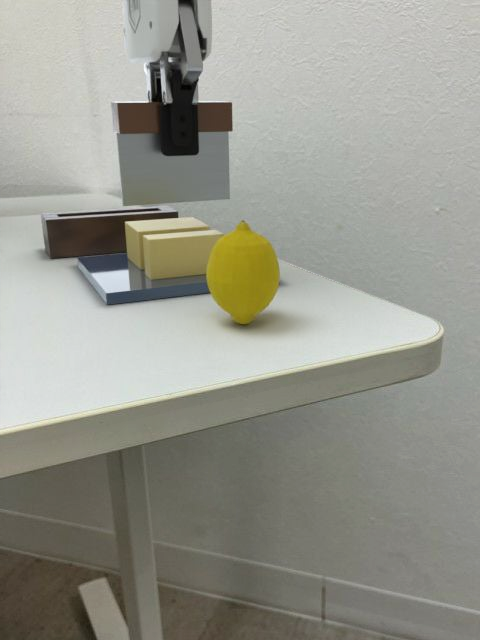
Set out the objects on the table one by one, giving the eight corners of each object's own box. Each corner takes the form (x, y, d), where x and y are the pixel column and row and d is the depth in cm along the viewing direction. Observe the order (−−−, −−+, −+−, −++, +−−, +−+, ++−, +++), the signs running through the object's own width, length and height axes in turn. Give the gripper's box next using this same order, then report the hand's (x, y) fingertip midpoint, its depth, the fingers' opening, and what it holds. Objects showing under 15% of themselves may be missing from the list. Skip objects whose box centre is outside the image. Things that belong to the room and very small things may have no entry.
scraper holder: (50, 258, 69) (45, 219, 67) (45, 250, 72) (40, 213, 70) (179, 247, 74) (178, 211, 73) (169, 240, 78) (167, 205, 76)
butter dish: (106, 304, 55) (105, 293, 55) (78, 267, 66) (77, 257, 65) (279, 284, 62) (279, 274, 61) (227, 253, 72) (227, 244, 72)
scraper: (126, 208, 57) (117, 102, 53) (119, 203, 59) (110, 101, 55) (234, 200, 61) (232, 102, 57) (224, 196, 63) (222, 101, 59)
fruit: (279, 312, 54) (281, 213, 51) (278, 335, 49) (280, 228, 46) (211, 310, 54) (209, 212, 51) (204, 334, 49) (200, 226, 46)
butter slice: (151, 280, 59) (148, 239, 57) (145, 274, 60) (142, 235, 59) (224, 272, 61) (224, 233, 60) (217, 267, 63) (216, 229, 62)
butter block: (140, 270, 61) (137, 231, 60) (127, 258, 66) (124, 221, 64) (211, 263, 64) (210, 226, 63) (194, 251, 68) (193, 216, 67)
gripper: (91, -84, 56) (111, 146, 63) (142, -134, 42) (159, 165, 50) (177, -74, 59) (186, 144, 66) (249, -118, 45) (250, 162, 53)
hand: (174, 151), depth 58 cm, fingers closed on scraper, 2 cm apart
